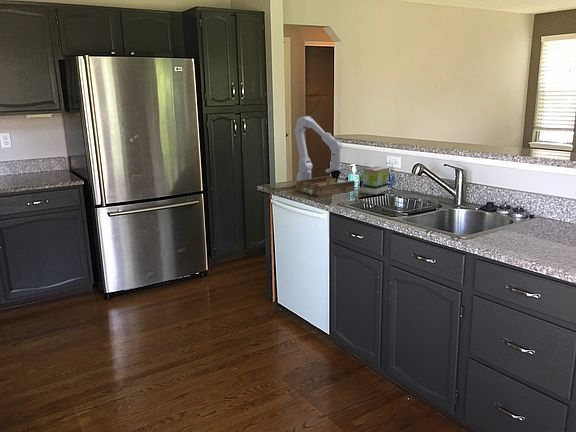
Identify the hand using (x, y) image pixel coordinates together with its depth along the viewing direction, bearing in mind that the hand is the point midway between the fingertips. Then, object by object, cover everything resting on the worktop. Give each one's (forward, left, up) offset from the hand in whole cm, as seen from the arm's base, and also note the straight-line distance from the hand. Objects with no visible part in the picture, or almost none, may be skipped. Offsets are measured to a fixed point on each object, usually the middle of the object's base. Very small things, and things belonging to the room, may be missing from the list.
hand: (335, 182), depth 319 cm
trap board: (0, -8, -4) cm, 9 cm away
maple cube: (0, -3, -1) cm, 4 cm away
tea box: (+22, +13, -4) cm, 26 cm away
